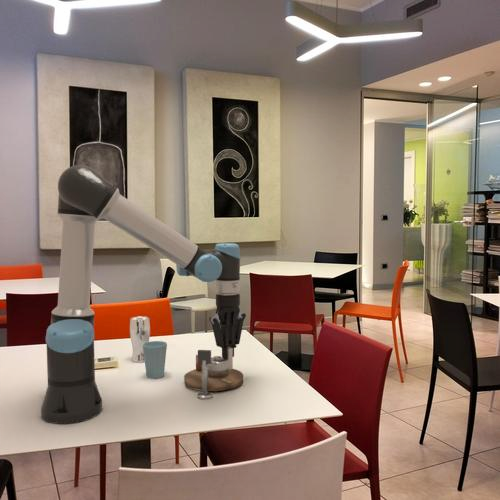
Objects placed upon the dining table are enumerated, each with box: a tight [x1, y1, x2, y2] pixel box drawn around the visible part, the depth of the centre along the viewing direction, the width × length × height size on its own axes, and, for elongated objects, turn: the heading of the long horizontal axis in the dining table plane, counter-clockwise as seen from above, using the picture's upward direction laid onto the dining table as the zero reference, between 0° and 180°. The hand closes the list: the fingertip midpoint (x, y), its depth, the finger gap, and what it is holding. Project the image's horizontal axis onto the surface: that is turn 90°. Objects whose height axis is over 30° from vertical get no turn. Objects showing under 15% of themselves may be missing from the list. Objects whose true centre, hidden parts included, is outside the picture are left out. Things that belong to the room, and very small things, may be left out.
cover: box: [207, 355, 229, 378], centre depth 159 cm, size 7×7×6 cm
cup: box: [143, 340, 168, 379], centre depth 165 cm, size 8×8×10 cm
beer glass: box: [129, 315, 151, 363], centre depth 183 cm, size 7×7×15 cm
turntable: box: [183, 354, 244, 392], centre depth 158 cm, size 18×18×6 cm
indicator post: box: [196, 349, 213, 401], centre depth 146 cm, size 4×4×13 cm
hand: (228, 367), depth 162 cm, fingers closed
